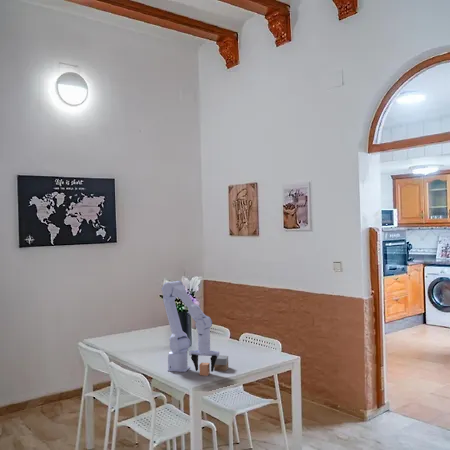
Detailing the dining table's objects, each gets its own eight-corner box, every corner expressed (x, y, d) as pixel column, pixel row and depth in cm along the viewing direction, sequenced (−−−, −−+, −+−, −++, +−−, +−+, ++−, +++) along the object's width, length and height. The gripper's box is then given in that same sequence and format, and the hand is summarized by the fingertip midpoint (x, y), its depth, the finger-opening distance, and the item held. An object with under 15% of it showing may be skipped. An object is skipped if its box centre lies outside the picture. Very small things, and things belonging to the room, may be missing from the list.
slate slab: (214, 364, 240) (214, 358, 241) (216, 361, 246) (216, 355, 246) (226, 365, 239) (225, 358, 239) (228, 361, 245) (228, 355, 245)
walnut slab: (214, 370, 240) (214, 364, 240) (216, 367, 246) (216, 361, 246) (226, 371, 239) (225, 365, 239) (228, 367, 245) (228, 361, 245)
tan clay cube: (199, 375, 233) (199, 364, 233) (201, 372, 237) (201, 362, 237) (207, 375, 232) (207, 365, 232) (209, 373, 236) (209, 362, 236)
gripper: (187, 343, 232) (187, 372, 232) (216, 344, 229) (217, 373, 229) (191, 340, 239) (191, 368, 239) (220, 341, 236) (220, 369, 236)
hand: (204, 370), depth 234 cm, fingers open, 7 cm apart
